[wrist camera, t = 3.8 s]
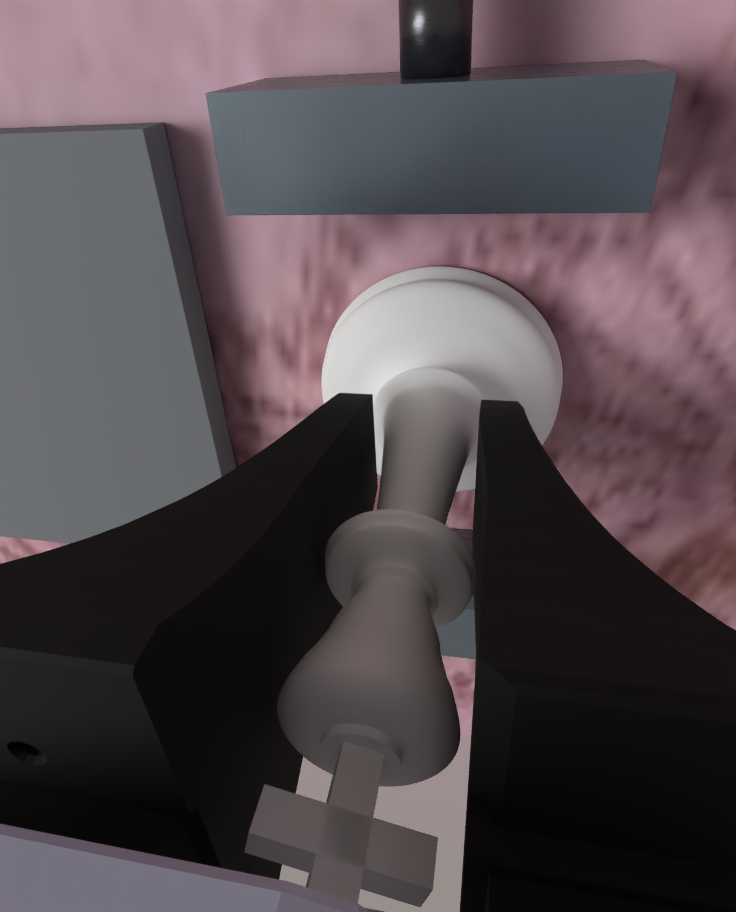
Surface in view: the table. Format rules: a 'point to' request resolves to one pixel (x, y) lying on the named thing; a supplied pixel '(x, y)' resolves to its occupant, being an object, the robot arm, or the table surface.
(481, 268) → the table surface
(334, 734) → the chess piece
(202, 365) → the mat
